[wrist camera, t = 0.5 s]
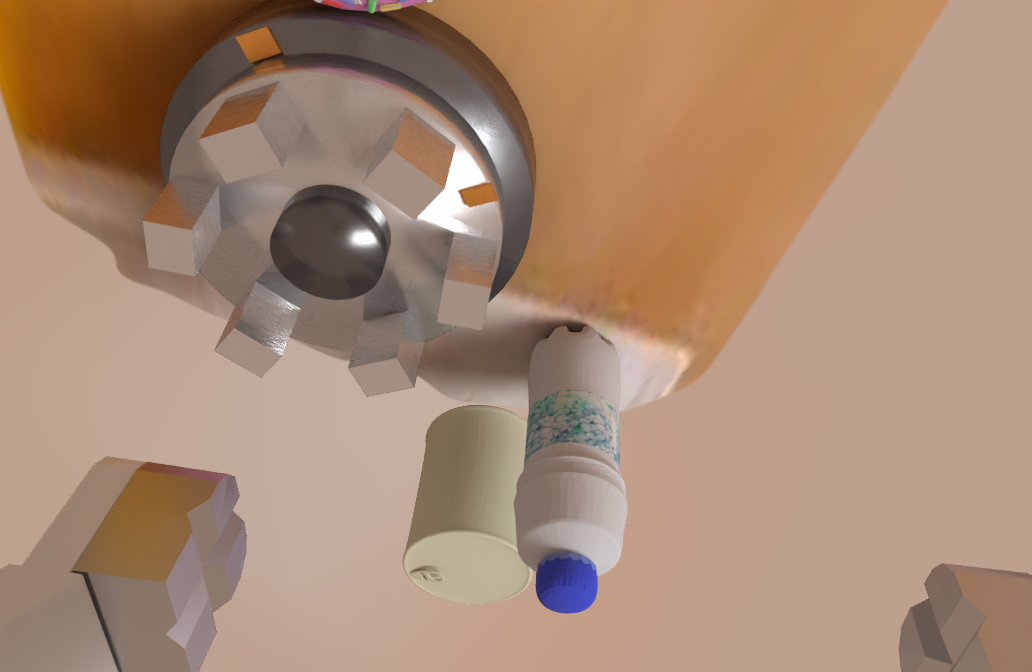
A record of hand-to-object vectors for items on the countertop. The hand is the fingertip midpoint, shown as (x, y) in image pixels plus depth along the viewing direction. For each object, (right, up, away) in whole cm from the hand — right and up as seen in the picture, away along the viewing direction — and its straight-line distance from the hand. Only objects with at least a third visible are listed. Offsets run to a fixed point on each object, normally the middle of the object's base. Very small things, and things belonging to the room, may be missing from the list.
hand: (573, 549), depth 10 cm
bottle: (+4, +2, +51) cm, 51 cm away
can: (-3, -6, +58) cm, 59 cm away
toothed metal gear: (-10, +10, +38) cm, 41 cm away
